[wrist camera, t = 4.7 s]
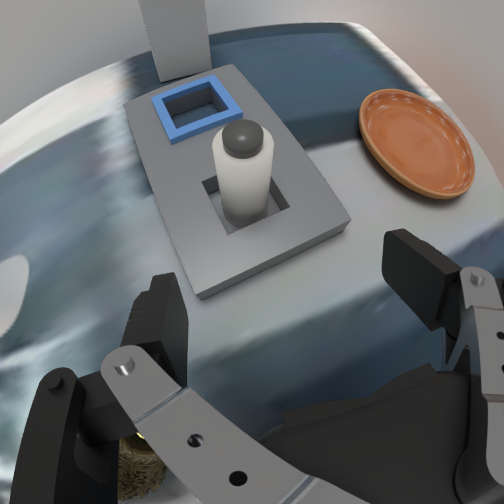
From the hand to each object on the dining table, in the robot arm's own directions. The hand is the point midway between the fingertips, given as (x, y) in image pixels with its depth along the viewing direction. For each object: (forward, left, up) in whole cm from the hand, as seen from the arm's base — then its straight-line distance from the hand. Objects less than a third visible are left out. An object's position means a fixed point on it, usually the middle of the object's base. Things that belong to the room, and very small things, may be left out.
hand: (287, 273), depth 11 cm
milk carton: (+5, +35, -14) cm, 38 cm away
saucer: (+25, +9, -14) cm, 30 cm away
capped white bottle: (+3, +10, -14) cm, 17 cm away
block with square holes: (+3, +16, -14) cm, 21 cm away
